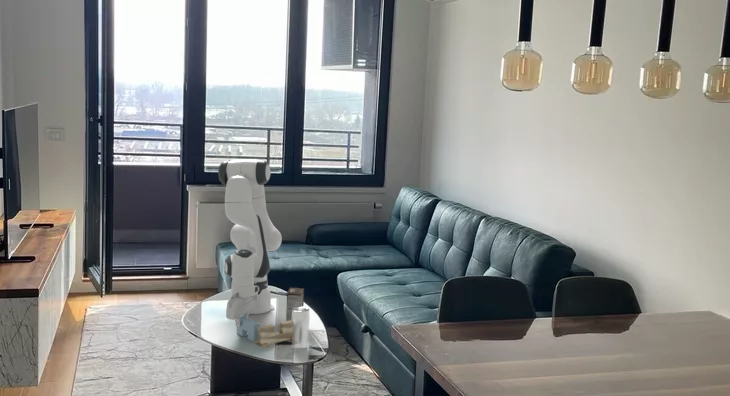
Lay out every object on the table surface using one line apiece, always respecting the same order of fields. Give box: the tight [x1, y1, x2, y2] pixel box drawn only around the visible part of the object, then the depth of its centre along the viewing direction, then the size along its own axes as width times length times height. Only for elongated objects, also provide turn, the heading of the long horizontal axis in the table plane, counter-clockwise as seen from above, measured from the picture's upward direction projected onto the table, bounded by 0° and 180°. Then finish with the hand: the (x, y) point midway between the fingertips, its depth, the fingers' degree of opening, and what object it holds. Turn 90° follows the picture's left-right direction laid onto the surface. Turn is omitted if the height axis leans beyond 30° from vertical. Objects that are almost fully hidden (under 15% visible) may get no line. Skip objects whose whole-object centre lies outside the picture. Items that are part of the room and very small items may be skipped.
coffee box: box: [285, 287, 305, 321], centre depth 289 cm, size 9×6×16 cm
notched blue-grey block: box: [236, 315, 260, 343], centre depth 275 cm, size 12×2×7 cm, turn 43°
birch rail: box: [254, 320, 293, 349], centre depth 272 cm, size 6×16×7 cm, turn 133°
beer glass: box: [291, 306, 311, 350], centre depth 267 cm, size 7×7×15 cm
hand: (241, 324), depth 278 cm, fingers closed on notched blue-grey block, 4 cm apart
